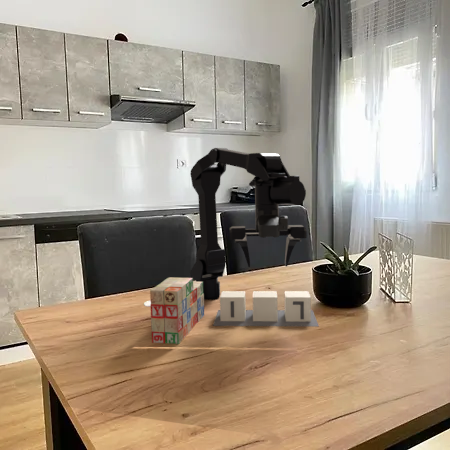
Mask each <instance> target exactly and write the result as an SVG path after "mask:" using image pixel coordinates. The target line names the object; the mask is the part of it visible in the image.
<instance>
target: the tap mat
mask: <svg viewBox="0 0 450 450" xmlns="http://www.w3.org/2000/svg"><path fill="white" fill-rule="evenodd" d="M212 327H319V322H318V321H317V318H316V316H315V313H314V310H313V309H311V322H300V321H286V319H285V309H280V310H279V309H278V321H253V309H246V316H245V321H220V309H217V312H216V314H215V318H214V322H213V324H212Z"/></svg>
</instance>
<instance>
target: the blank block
mask: <svg viewBox="0 0 450 450" xmlns="http://www.w3.org/2000/svg"><path fill="white" fill-rule="evenodd" d="M277 292H278V291H277V290H261V291H260V290H258V291H257V290H256V291H255V290H253V292H252V310H253V321H278V310H279V309H278V307H279V306H278V293H277Z"/></svg>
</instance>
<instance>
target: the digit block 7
mask: <svg viewBox="0 0 450 450" xmlns="http://www.w3.org/2000/svg"><path fill="white" fill-rule="evenodd" d="M283 293H284V310H285V319H286V321H300V322H311V310H312V297H311V294H310V292H309V290H294V291H293V290H285V291H284V292H283Z"/></svg>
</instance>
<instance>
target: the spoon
mask: <svg viewBox="0 0 450 450" xmlns="http://www.w3.org/2000/svg"><path fill="white" fill-rule="evenodd" d="M143 305H144V307H151V299H150V300H147V301H145V302H144V303H143Z"/></svg>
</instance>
